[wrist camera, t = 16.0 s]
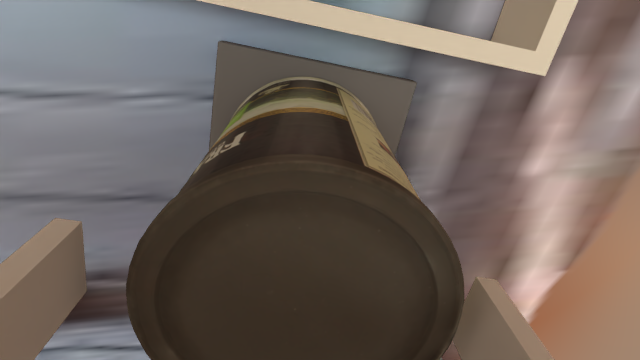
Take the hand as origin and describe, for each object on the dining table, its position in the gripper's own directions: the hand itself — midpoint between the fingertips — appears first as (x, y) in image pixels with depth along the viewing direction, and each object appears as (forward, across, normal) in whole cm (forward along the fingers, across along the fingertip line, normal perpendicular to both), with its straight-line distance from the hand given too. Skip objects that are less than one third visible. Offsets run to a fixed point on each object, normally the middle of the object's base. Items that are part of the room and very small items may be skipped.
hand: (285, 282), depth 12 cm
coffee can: (+13, -1, 0) cm, 13 cm away
